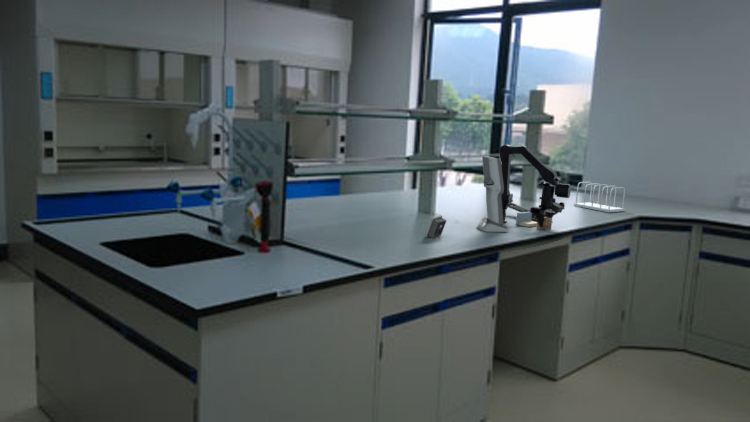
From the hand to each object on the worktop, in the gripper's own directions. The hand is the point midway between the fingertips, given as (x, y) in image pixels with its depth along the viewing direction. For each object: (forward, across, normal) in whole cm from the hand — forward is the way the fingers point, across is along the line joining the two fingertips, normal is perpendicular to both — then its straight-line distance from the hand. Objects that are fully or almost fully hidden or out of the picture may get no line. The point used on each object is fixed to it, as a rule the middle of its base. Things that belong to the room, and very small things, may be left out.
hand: (544, 226), depth 298 cm
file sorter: (+2, +96, +25) cm, 100 cm away
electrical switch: (+2, -66, +11) cm, 67 cm away
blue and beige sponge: (+1, +1, +10) cm, 10 cm away
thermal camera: (+1, -28, +10) cm, 30 cm away
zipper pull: (+2, +14, +23) cm, 27 cm away
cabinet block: (+1, 0, 0) cm, 1 cm away
